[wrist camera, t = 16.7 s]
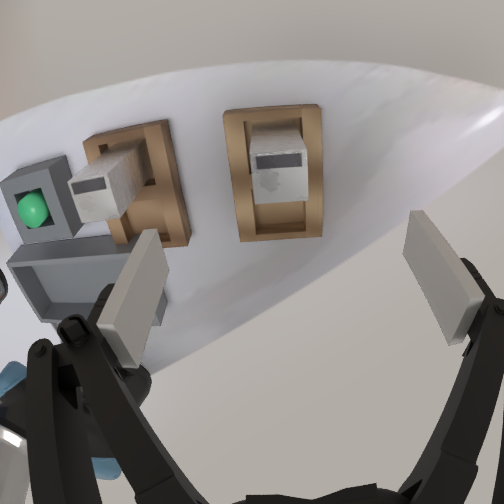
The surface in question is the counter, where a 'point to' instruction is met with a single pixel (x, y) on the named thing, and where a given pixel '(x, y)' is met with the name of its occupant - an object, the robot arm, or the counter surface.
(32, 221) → the button
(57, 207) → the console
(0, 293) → the supplement container
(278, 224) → the pallets
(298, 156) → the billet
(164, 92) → the counter surface
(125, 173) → the block
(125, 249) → the tote
